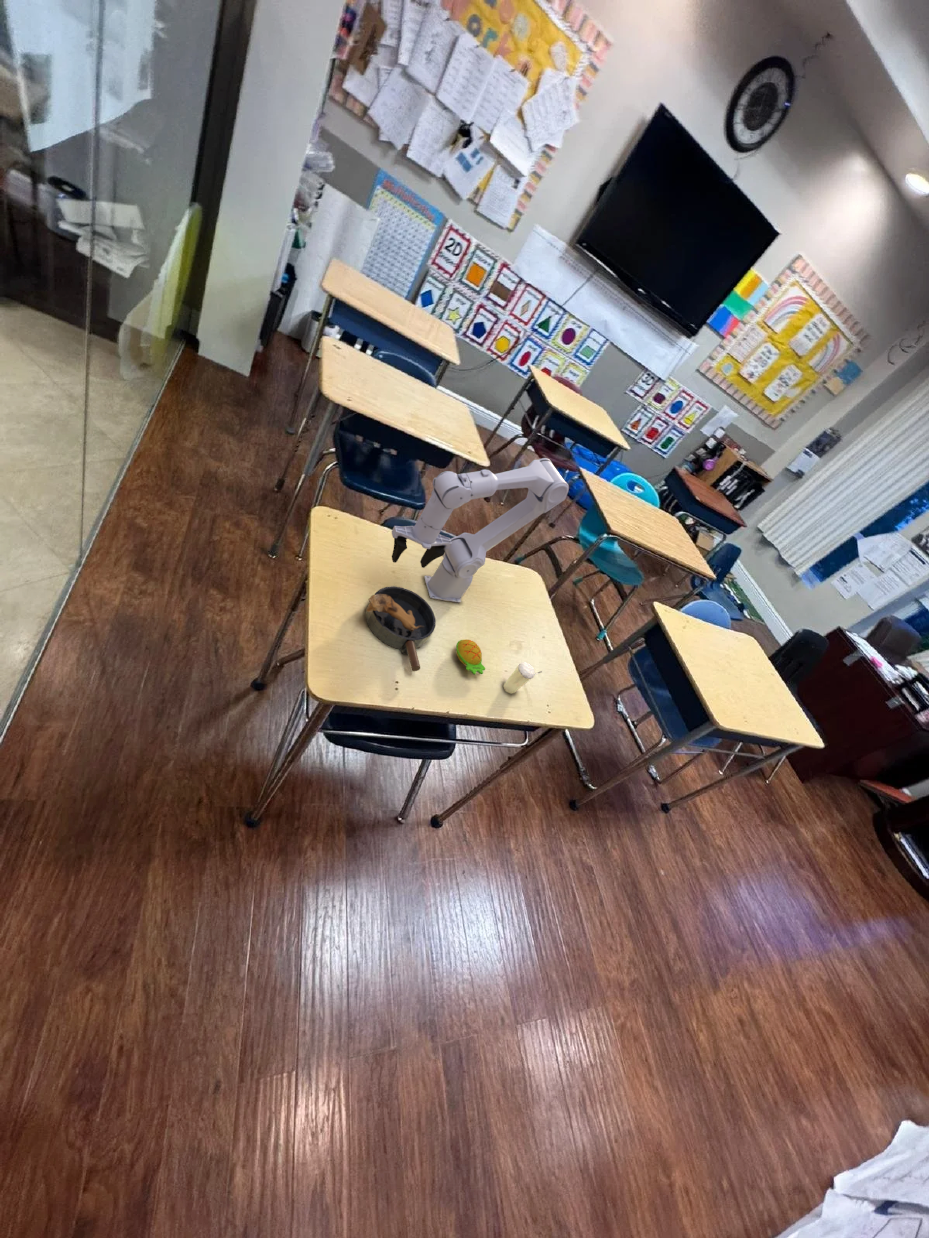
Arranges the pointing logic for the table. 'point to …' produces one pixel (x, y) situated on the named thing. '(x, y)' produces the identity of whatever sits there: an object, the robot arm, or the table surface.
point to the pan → (392, 628)
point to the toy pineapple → (470, 655)
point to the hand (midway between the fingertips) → (408, 562)
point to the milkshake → (519, 677)
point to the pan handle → (411, 655)
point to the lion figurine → (392, 610)
